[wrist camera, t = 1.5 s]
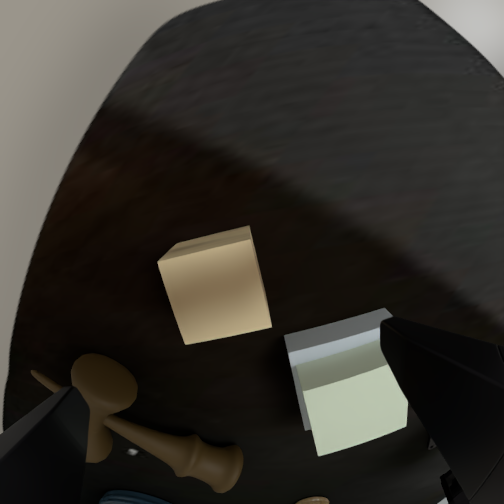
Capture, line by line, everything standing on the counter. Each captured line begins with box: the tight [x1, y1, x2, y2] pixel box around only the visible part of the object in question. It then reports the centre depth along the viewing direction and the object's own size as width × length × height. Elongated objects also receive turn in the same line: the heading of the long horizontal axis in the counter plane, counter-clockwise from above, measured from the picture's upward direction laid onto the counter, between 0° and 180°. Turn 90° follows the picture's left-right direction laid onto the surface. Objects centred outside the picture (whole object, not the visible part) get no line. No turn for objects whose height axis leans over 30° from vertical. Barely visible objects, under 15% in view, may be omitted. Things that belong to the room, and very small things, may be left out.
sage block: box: [296, 339, 408, 456], centre depth 19 cm, size 7×7×3 cm
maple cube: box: [157, 226, 272, 345], centre depth 19 cm, size 5×5×5 cm
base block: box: [284, 308, 392, 431], centre depth 22 cm, size 8×8×3 cm
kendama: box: [31, 353, 243, 493], centre depth 21 cm, size 6×10×20 cm
